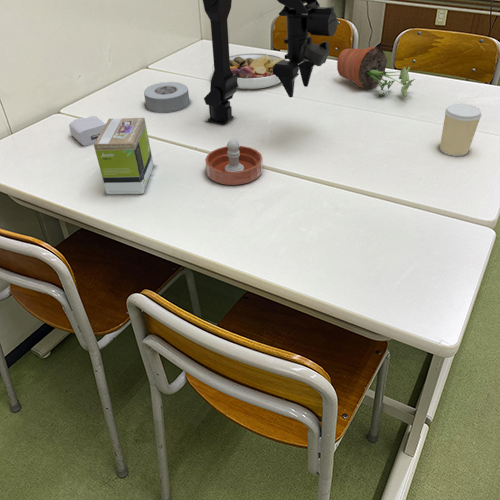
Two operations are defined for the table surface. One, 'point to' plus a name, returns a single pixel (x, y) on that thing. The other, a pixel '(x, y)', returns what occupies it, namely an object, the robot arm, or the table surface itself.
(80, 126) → the charger
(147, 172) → the tea box
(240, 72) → the bowl
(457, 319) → the table surface
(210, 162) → the bowl
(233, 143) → the chess piece
